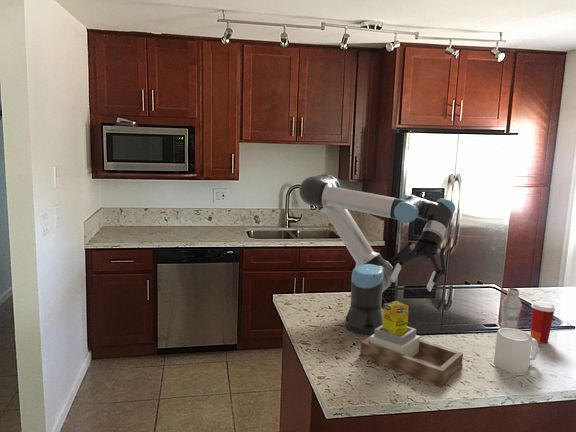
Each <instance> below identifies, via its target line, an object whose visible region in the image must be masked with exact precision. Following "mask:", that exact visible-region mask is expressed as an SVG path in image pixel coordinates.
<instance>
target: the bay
mask: <svg viewBox="0 0 576 432" xmlns="http://www.w3.org/2000/svg"><path fill="white" fill-rule="evenodd" d="M359 357H360V358H362V359H363V360H364V359H365V360H367V361H370V362H373V363H375V364H378V365H381V366H383V367H385V368H388V369H390V370H394V371H396V372H399V373H401V374H404V375H406V376H409V377H412V378H414V379H417V380H419V381H421V382H424V383H426V384H430V385H431V386H432V385H433V386H434V387H438V388H442V387H443V386H444V385H445V384H446V383H447V382H448V381H449V380H450V379H451V378H452V377H454V375H456V374H457V373H458V372H459V371H460V370H461V369H462V368H463V358H464V353H463V352H462V351H461V352H460V351H457V350H454V349H452V348H449V347H445V346H442V345H439V344H436V343H433V342H430V341H426V340H424V339H421V338H420V342H419V353H417V354H416V355H414V356H413V357H412V358H411V357H409V356H406V355H403V354H400V353H397V352H394V351H392V350H389V349H386V348H383V347H380V346H378V345H375V344H372V343H370V336H369V337H367V338H365V339H363V340H361V342H360V352H359Z"/></svg>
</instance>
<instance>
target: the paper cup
mask: <svg viewBox="0 0 576 432" xmlns="http://www.w3.org/2000/svg"><path fill="white" fill-rule="evenodd" d="M530 307H531V320H530V321H531V325H530V335H531V336H532V338H534V339H535V340H536V341H537V344H543V345H545V344H548V342H549V338H550V333H551V328H552V323H553V319H554V313H555V312H556V308H555V305H554V304H553V303H550V302H547V301H540V300H536V301H533V302H532V303H531V305H530Z"/></svg>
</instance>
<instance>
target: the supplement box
mask: <svg viewBox="0 0 576 432" xmlns="http://www.w3.org/2000/svg"><path fill="white" fill-rule="evenodd" d="M409 307H410V306H409V305H407V304H405V303H402V302H401V301H398V300H395V301H390V302H386V303H383V311H382V314H383V325H382V330H383V331H386V332H389V333H392V334H395V335H398V336H402V335H404V334H405V333H407V326H408V322H409V321H408V320H409V309H410V308H409Z"/></svg>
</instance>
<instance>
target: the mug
mask: <svg viewBox="0 0 576 432" xmlns="http://www.w3.org/2000/svg"><path fill="white" fill-rule="evenodd" d="M494 347H495V349H494V358H493V364H494V365H495V367H497V368H499V369H500V370H502V371H505V372H509V373H512V374H513V373H514V374H523V373H527V372H528V371H529V366H530V361H534V360H536V358H537V356H538V353H539V343H537V341H536V340H535V339H534V338H532V336H531V334H529V333H528V332H526V331H523V330H520V329H518V330H517V329H511V328H502V329H500V328H499V329H497V332H496V340H495V346H494Z"/></svg>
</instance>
